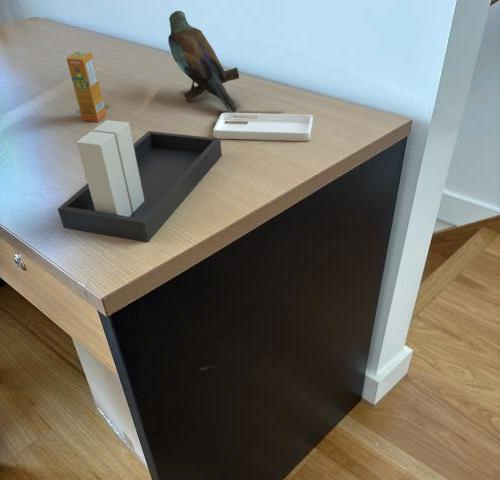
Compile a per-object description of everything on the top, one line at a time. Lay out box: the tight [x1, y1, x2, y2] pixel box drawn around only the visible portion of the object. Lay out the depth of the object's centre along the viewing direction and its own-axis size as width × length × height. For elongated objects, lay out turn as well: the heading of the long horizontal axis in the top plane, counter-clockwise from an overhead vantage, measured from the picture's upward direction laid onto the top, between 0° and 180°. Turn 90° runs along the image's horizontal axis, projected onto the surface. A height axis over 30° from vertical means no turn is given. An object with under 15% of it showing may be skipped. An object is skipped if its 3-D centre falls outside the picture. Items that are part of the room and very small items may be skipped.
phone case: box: [212, 112, 314, 142], centre depth 81 cm, size 7×1×15 cm
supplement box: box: [65, 51, 107, 123], centre depth 84 cm, size 3×3×10 cm
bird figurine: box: [167, 10, 240, 113], centre depth 89 cm, size 13×10×20 cm
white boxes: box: [76, 119, 144, 217], centre depth 60 cm, size 3×6×10 cm, turn 161°
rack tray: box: [57, 130, 223, 243], centre depth 68 cm, size 12×24×3 cm, turn 161°
